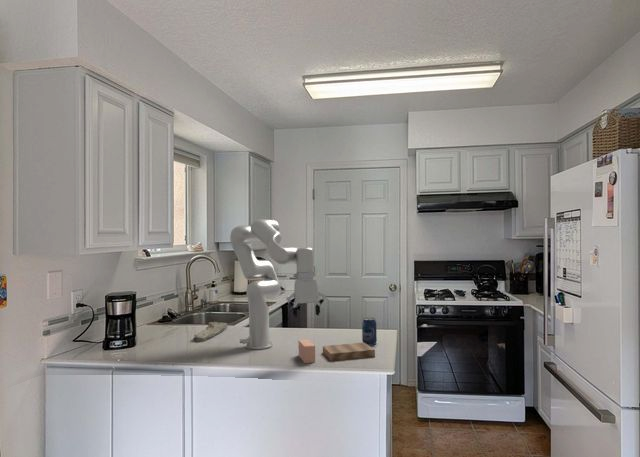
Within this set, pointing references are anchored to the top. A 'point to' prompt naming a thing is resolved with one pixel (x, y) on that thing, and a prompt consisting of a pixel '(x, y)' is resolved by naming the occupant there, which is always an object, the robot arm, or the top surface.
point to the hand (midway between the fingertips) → (306, 315)
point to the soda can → (369, 331)
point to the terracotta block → (306, 351)
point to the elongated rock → (210, 331)
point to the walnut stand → (348, 351)
